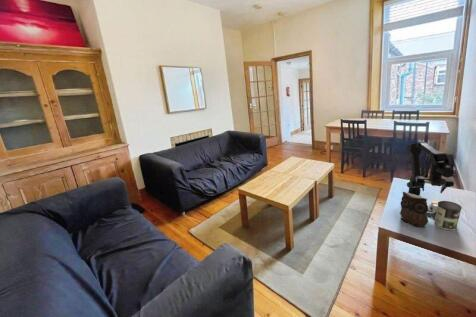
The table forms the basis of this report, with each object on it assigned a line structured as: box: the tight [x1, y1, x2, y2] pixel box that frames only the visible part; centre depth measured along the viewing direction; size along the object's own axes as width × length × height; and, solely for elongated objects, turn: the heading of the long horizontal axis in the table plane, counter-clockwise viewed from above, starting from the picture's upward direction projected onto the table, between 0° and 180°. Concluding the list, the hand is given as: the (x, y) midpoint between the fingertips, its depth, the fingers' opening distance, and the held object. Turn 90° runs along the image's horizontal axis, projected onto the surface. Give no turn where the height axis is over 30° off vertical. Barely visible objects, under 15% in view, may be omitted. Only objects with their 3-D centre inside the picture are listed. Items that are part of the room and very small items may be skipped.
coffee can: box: [433, 200, 462, 231], centre depth 134 cm, size 10×10×14 cm
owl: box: [399, 191, 429, 229], centre depth 139 cm, size 13×13×20 cm
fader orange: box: [430, 200, 439, 208], centre depth 149 cm, size 3×2×4 cm
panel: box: [426, 203, 436, 218], centre depth 146 cm, size 12×12×3 cm
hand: (431, 192), depth 151 cm, fingers open, 9 cm apart
